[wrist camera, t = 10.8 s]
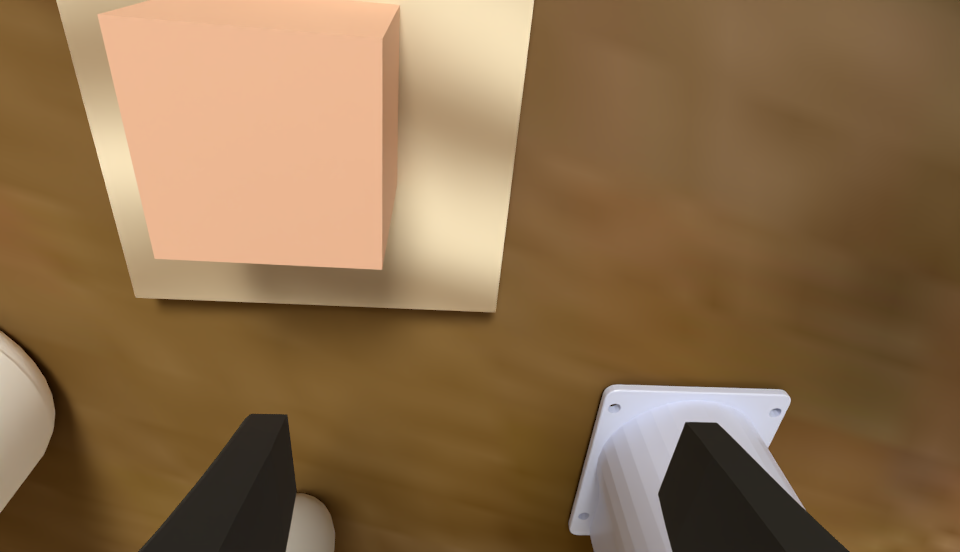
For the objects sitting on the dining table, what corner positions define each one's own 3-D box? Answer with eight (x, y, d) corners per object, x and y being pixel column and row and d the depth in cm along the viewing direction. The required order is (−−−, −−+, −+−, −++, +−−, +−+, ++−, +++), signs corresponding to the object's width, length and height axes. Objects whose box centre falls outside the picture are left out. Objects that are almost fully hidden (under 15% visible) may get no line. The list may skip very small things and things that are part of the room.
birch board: (492, 293, 21) (495, 312, 20) (151, 278, 20) (135, 297, 19) (550, -191, 14) (558, -199, 13) (20, -255, 13) (-16, -270, 12)
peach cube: (397, 185, 18) (382, 269, 13) (226, 174, 17) (154, 258, 13) (399, 5, 15) (382, 38, 11) (198, -14, 14) (97, 13, 10)
